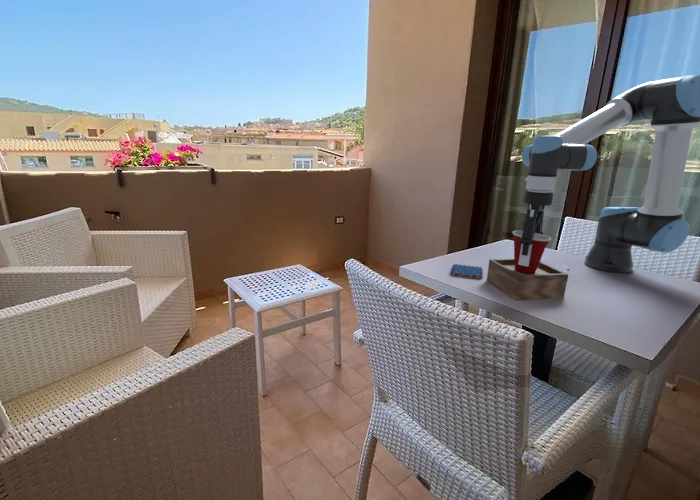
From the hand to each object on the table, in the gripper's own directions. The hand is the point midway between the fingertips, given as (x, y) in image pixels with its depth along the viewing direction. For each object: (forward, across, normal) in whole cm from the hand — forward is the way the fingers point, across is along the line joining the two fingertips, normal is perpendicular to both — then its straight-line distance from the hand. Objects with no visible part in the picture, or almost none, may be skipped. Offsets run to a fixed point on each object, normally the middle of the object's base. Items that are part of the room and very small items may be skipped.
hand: (527, 260), depth 112 cm
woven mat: (+10, -4, -19) cm, 22 cm away
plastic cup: (+4, 0, 0) cm, 4 cm away
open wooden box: (+10, 0, 0) cm, 10 cm away
